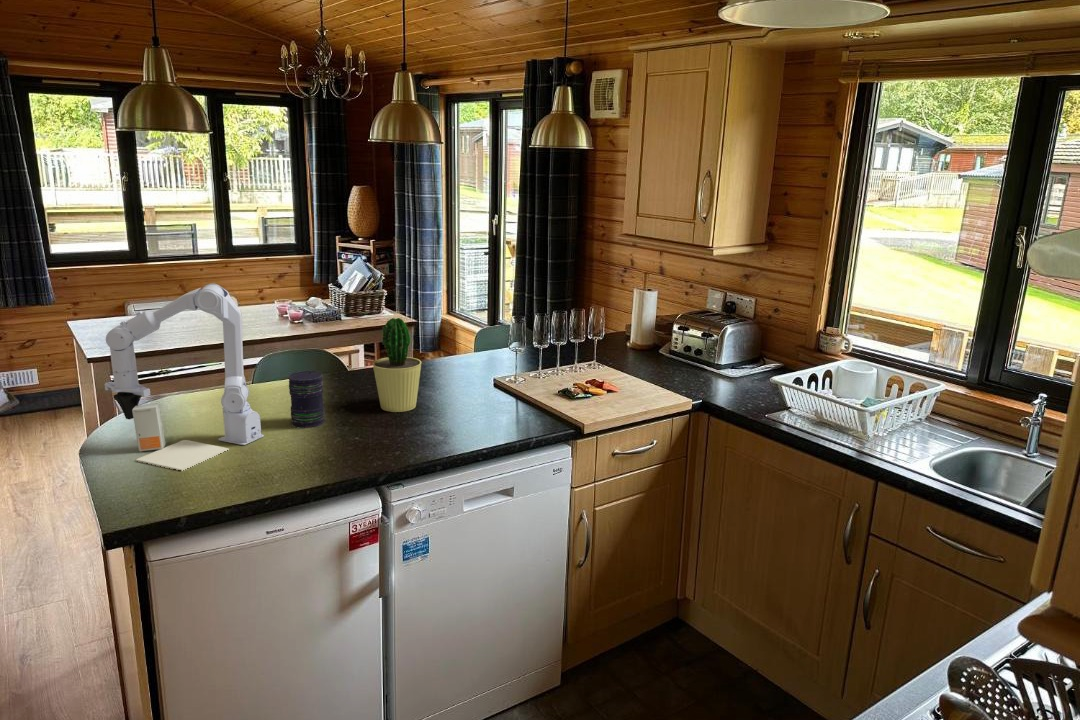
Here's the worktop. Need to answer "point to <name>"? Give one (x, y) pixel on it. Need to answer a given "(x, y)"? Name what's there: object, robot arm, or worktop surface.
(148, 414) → the skincare box
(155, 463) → the mat
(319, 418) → the storage jar
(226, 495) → the worktop surface
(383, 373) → the potted cactus
